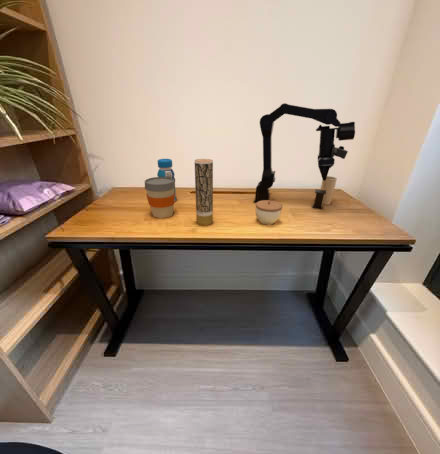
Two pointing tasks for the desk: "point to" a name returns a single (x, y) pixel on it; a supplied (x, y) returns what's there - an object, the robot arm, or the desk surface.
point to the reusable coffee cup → (160, 196)
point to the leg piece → (319, 198)
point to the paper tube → (204, 191)
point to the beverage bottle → (166, 170)
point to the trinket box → (268, 211)
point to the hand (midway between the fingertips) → (323, 178)
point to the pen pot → (328, 189)
